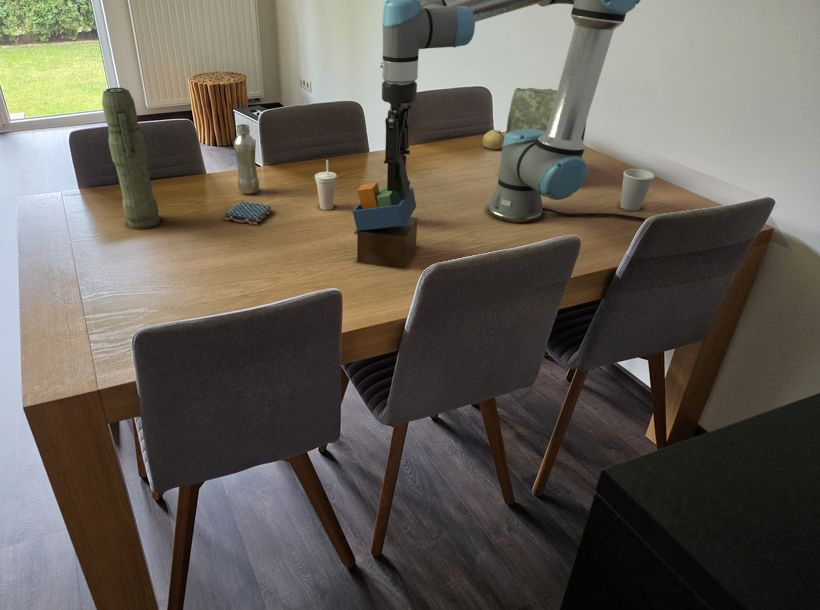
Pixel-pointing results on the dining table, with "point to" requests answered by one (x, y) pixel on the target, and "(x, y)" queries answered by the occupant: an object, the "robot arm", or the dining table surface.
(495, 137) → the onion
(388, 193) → the green square block
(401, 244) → the stand
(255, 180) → the plastic bottle
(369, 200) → the orange rectangular block
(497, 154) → the dining table surface
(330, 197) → the smoothie
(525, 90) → the lunch bag
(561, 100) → the robot arm
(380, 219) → the blue open box
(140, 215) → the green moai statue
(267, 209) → the woven mat
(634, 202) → the dixie cup
